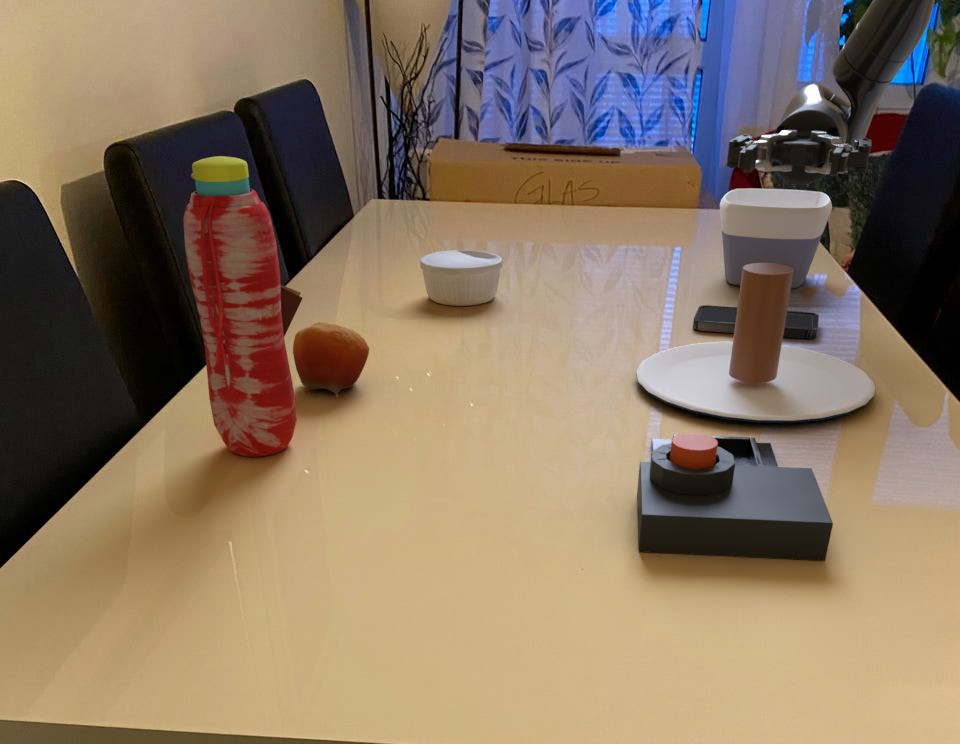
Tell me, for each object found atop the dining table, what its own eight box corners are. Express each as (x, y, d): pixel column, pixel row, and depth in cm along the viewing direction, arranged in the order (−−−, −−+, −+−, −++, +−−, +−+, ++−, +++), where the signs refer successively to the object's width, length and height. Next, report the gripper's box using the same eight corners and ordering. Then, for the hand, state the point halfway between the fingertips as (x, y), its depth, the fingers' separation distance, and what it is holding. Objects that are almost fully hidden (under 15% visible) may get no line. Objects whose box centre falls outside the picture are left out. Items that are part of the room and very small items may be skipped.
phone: (817, 330, 119) (692, 320, 123) (816, 339, 120) (691, 329, 124) (819, 312, 126) (700, 304, 129) (817, 321, 126) (699, 312, 130)
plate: (615, 354, 116) (616, 343, 116) (823, 347, 118) (825, 337, 117) (663, 434, 96) (664, 422, 95) (914, 425, 97) (917, 413, 96)
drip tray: (651, 444, 94) (652, 426, 93) (769, 448, 93) (772, 430, 92) (654, 494, 85) (656, 474, 84) (785, 499, 83) (789, 480, 82)
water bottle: (259, 414, 101) (222, 143, 87) (330, 423, 99) (303, 147, 85) (195, 459, 92) (142, 163, 78) (272, 470, 89) (231, 168, 76)
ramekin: (514, 292, 140) (515, 253, 137) (481, 312, 132) (481, 271, 129) (444, 284, 144) (443, 246, 141) (407, 303, 136) (405, 263, 133)
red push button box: (636, 494, 85) (641, 439, 82) (804, 502, 83) (815, 446, 80) (638, 552, 76) (643, 492, 73) (825, 561, 75) (838, 500, 72)
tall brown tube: (749, 364, 109) (764, 260, 103) (786, 376, 106) (804, 269, 100) (718, 373, 106) (732, 267, 100) (756, 386, 103) (772, 277, 97)
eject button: (668, 452, 81) (670, 431, 80) (713, 453, 80) (716, 433, 79) (670, 470, 78) (672, 449, 77) (717, 472, 77) (719, 451, 76)
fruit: (275, 389, 103) (283, 311, 103) (304, 404, 111) (311, 332, 110) (348, 394, 101) (356, 316, 101) (372, 409, 109) (380, 337, 109)
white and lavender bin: (705, 289, 141) (715, 204, 134) (717, 264, 153) (726, 186, 147) (817, 296, 137) (832, 210, 130) (820, 270, 149) (834, 190, 143)
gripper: (749, 103, 111) (723, 118, 99) (882, 106, 107) (873, 122, 94) (740, 176, 116) (714, 199, 103) (868, 182, 111) (857, 207, 99)
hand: (790, 163), depth 99 cm, fingers open, 8 cm apart
